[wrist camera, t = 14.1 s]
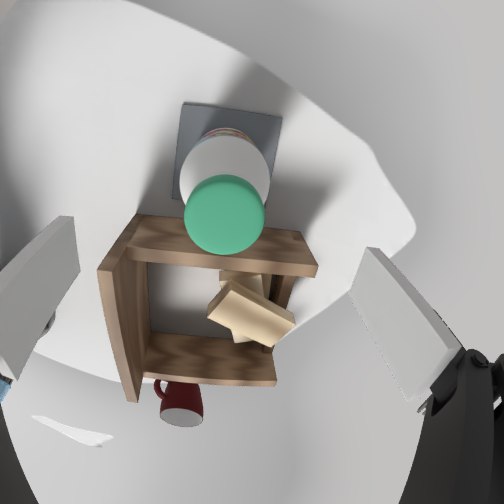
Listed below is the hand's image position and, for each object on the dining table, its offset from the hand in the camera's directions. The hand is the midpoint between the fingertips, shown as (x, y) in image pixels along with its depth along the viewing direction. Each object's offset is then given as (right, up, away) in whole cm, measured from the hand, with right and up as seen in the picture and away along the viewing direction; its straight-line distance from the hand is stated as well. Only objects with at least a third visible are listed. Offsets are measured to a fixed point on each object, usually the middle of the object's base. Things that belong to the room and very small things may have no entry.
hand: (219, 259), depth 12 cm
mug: (-13, -24, +41) cm, 49 cm away
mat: (-2, +12, +21) cm, 25 cm away
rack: (-4, -6, +31) cm, 32 cm away
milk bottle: (-2, +12, +21) cm, 24 cm away
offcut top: (+1, -8, +28) cm, 29 cm away
